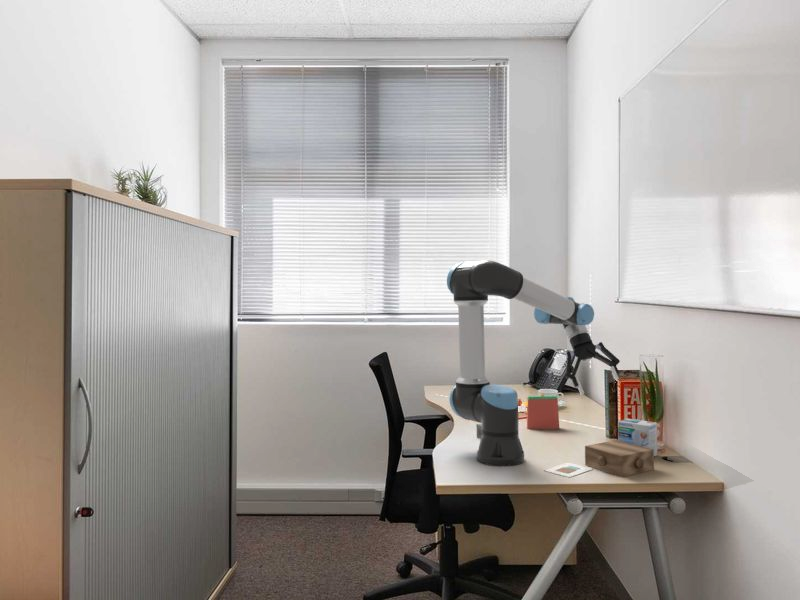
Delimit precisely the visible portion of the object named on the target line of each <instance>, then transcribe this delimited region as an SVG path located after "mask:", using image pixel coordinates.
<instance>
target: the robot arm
mask: <svg viewBox="0 0 800 600" xmlns="http://www.w3.org/2000/svg"><path fill="white" fill-rule="evenodd" d="M446 286H447V290H449V291H450V294H452V295H453V302H454V304H456V305H457V307H458V313H457V314H458V346H459V347H458V349H459V350H458V352H459V355H458V356H459V376H458V377H457V379H456V380H455V386H453V388H452V391H450V393H449V405H450V408H451V410H452V411H453V412H454V414H455V415H456V416H458V417H460V418H462V419H465V420H467V421H473V422H475V423H478V424H482V438H481V439H480V442H479V445H478V449H477V451H476V460H477V461H478V462H479V463H482V464H484V465H488V466H497V467H507V466H508V467H509V466H517V465H520V464H523V463H524V462H525V452H524V448H523V446H522V443H521V440H520V437H519V435H520V434H519V412H518V405H519V402H518V398H519V395H518V392H517V391H516V390H515V389H514V388H512V387H509V386H507V385H500V384H491V383H490V382H491V381H490V379H489V378H488V377H487V376H486V365H485V364H486V359H485V358H486V356H485V355H486V354H485V353H486V351H485V316H484V313H485V310H484V307H485V304H486V303H488V301H489V296H495V297H502V298H505V299H507V300H513V299H514V300H517V301H519V302H522V303H523V304H526V305H528V306H531V307H533V308H534V310H533V317H534V320H535V321H536V323H538V324H540V325H541V324H543V325H547V324H549V325H550V324H551V325H562V327H563V329H564V331H565V333H566V335H567V338H568V339H569V343H570V345H571V348H572V351H569V350H568V351H566V354H565V357H566V366H565V376H564V378H565V379H566V380H569V379H570V380H571V381H572V384H573V386H574V387H575V388H576V387H577V389H578V391H579V393H580V396H583V395H585V391H584V389H583V386H582V384H581V382H580V379H579V376H578V375H577V371H578V369H579V367H580V364H581V362H582V361H587V360H592V359H593V358H594V359H595V360H598V361H599V362H601V363H603V364H605V365H607V366H609V367H610V368H609V370H610V372H611V371H612V373H611V374H612V377H613V379H615V380H616V381H618V379H619V380H620V378H619V374H620V371H619V369H618V367H617V365H619V363H620V362H621V360H620V359H619V358H618V357H616V355H614V354H613V353H612V352H611V351H610V350H609V349H607V347H606V346H605V345H604V343H603V342H602V341H600V342H599V343H597V344H594V343H593V340H592V338H591V335H590V333H588V328H587V327H586V326H588V325H590V324H592V323H593V321H594V317H595V310H594V308H593V306H592V305H591V304H588V303H583V302H582V303H579V302H576V301H575V300H574V298H573V297H571V296H566V297H565V296H563V295H561V294H559V293H557V292H555V291H553V290H552V289H549V288H546V287H545V286H543V285H540V284H538V283H535V282H533V281H532V280H530V279H528V278H525V277H524V275H523V273H522V272H520V271H518V270H516V269H514V268H511V267H509V266H507V265H505V264H502V263H500V262H497V261H495V260H491V259H490V260H488V259H485V260H473V261H471V260H470V261H469V260H467V261H463V262H459V263H456V264H455V265H453V266H452V268H451V269H450V270H449V271H448V273H447V277H446ZM597 350H599V351H600V352H601V353H602V354H603V355H602V354H601V353H599V352H598V351H597ZM573 355H574V356H575V357H576V358H577V359H576V361H575V364H574V367H573V370H572V373H571V365H572V358H573ZM604 355H605V356H604ZM576 375H577V376H576ZM615 380H614V381H615Z"/></svg>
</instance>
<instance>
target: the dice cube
mask: <svg viewBox="0 0 800 600" xmlns="http://www.w3.org/2000/svg"><path fill="white" fill-rule="evenodd" d="M476 438H478V439H479V438H480V440H481V438H482V423H476Z"/></svg>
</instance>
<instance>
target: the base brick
mask: <svg viewBox="0 0 800 600" xmlns="http://www.w3.org/2000/svg"><path fill="white" fill-rule="evenodd" d="M654 459H655V456H654V449H650V448H646V447H642V446H638V445H634V444H630V443H626V442H623V441H619V440H618V439H615V440H610V441H604V442H599V443H593V444H589V445H585V446H584V463H585V464H584V465H585V467H588V468H592V469H596V470H599V471H601V472H604V473H608V474H612V475H615V476H617V475H618V477H621V478H622V476H623V477H627V476H631V475H637V474H641V473H644V472H649V471H653V470H654V469H655V465H654V463H655V461H654Z"/></svg>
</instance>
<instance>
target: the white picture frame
mask: <svg viewBox="0 0 800 600" xmlns="http://www.w3.org/2000/svg"><path fill="white" fill-rule="evenodd" d="M592 470H594V468H592V467H589V466H582V465H579V464H575V463H570V462H566V463H562V464H559V465H556V466H554V467H553V466H552V467H550V468H547V469H544V470H543V471H544V472H547V473H551V474H555V475H558V476H561V477H565V478H569V479H570V478H572V477H575V476H578V475H581V474H584V473H586V472H589V471H592Z"/></svg>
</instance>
